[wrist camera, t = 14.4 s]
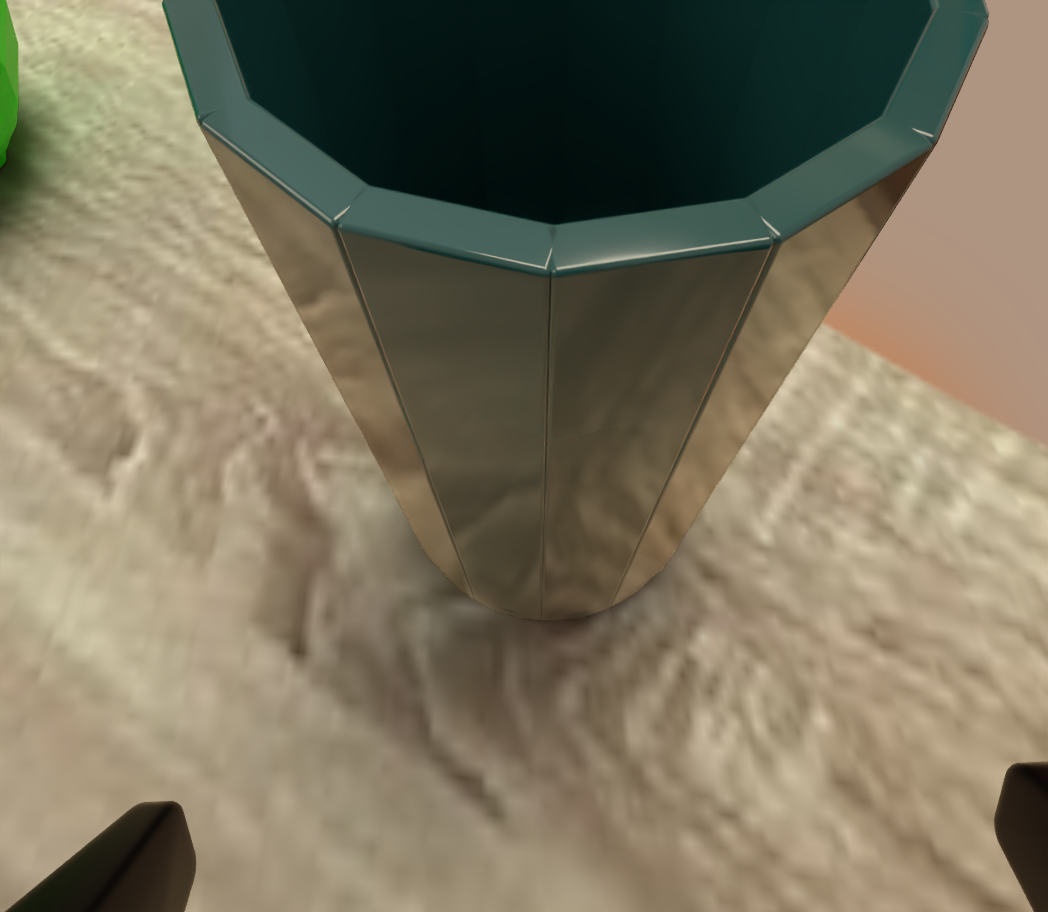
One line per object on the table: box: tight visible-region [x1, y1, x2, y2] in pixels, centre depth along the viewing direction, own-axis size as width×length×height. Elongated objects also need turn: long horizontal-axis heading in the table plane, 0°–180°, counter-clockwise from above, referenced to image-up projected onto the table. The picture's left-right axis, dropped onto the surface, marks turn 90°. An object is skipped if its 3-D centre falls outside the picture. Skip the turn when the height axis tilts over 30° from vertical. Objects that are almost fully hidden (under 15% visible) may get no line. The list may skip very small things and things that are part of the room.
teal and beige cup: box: [162, 0, 989, 621], centre depth 12 cm, size 7×7×12 cm
